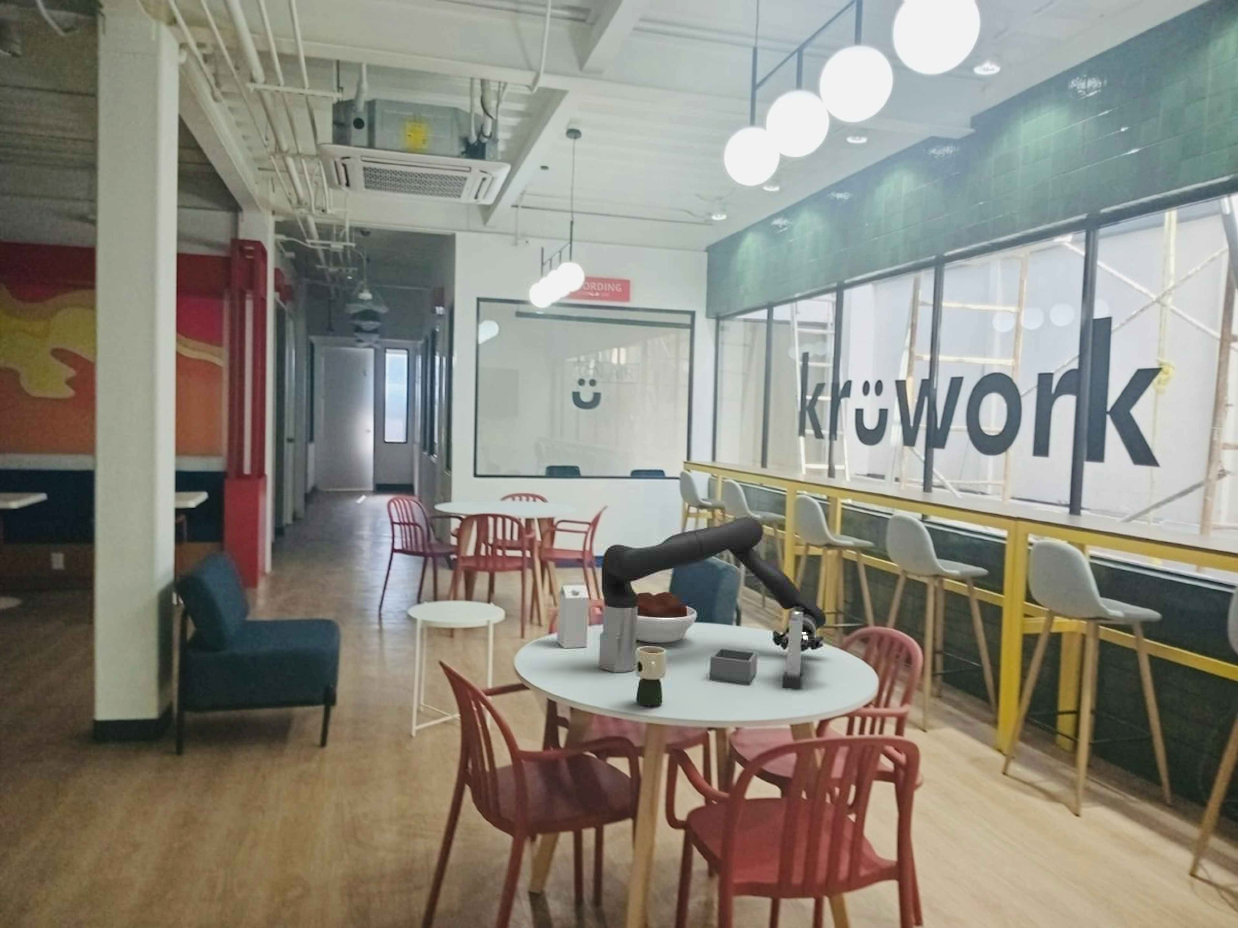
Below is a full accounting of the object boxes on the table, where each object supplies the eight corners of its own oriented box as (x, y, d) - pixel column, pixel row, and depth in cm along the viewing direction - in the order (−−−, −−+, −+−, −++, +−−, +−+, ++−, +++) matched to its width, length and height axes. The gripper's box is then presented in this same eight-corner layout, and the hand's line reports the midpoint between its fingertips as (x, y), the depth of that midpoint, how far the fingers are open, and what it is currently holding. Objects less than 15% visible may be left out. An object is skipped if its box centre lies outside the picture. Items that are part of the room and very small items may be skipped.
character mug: (632, 696, 210) (634, 643, 210) (661, 697, 210) (664, 644, 210) (635, 710, 199) (638, 655, 199) (666, 711, 200) (669, 656, 199)
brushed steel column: (800, 689, 222) (804, 614, 221) (782, 687, 223) (786, 612, 222) (802, 684, 227) (806, 610, 226) (784, 682, 228) (788, 608, 227)
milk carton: (556, 642, 259) (559, 579, 258) (579, 641, 262) (582, 579, 261) (563, 648, 252) (566, 584, 252) (586, 647, 255) (589, 583, 254)
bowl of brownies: (655, 654, 251) (657, 602, 250) (598, 636, 269) (600, 588, 268) (712, 643, 267) (714, 594, 267) (655, 627, 286) (657, 581, 285)
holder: (749, 684, 224) (750, 661, 224) (709, 679, 227) (710, 656, 227) (756, 674, 234) (757, 652, 234) (717, 669, 238) (718, 647, 237)
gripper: (775, 616, 240) (766, 628, 224) (828, 622, 236) (822, 635, 219) (774, 643, 240) (764, 657, 224) (826, 649, 236) (820, 664, 220)
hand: (793, 646), depth 222 cm, fingers open, 4 cm apart
